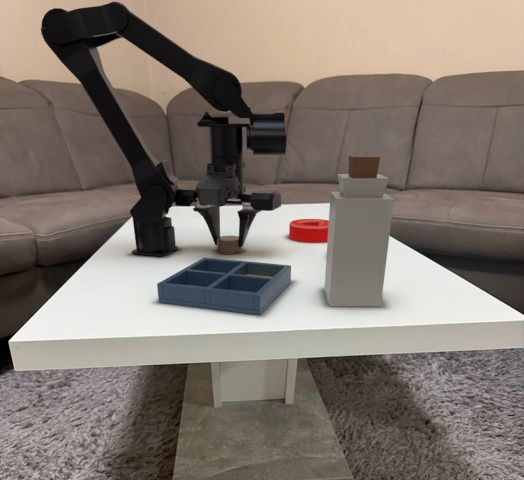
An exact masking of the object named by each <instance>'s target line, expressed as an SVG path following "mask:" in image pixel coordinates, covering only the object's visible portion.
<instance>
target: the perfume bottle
mask: <svg viewBox="0 0 524 480" xmlns="http://www.w3.org/2000/svg"><path fill="white" fill-rule="evenodd" d="M380 161H381V156H378V155H348V173H337V178H338V186H339V187H338V188H339V191H330V195H329V196H330V197H329V211H328V220H329V226H328V241H327V243H326V257H325V260H326V261H325V275H324V293H325V296H326V300H327V303H328V307H365V308H367V307H373V308H374V307H377V308H381V307H382V299H383V291H384V283H385V277H386V276H385V275H386V268H387V267H386V266H387V259H388V250H389V243H390V242H389V241H390V235H391V234H390V233H391V226H392V219H393V218H392V217H393V210H394V209H393V208H394V201H395V199H394V198H392V197H391V196H390V195H388V194H386V193H385V191H386V188H387V187H388V186H387V185H388V183H389V180H390V178H389V177H387V176H385V175H383V174H380V173H378V172H379V166H380Z"/></svg>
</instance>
